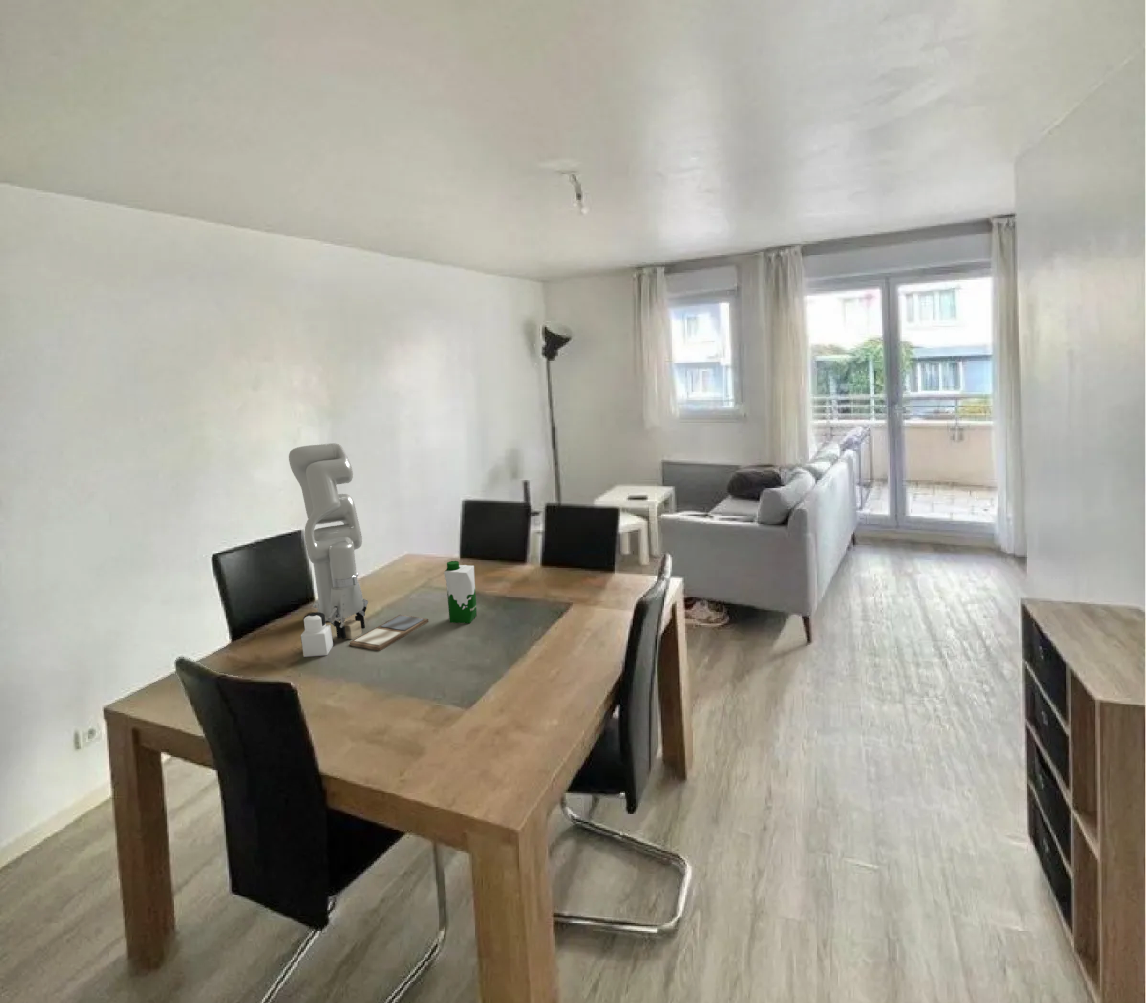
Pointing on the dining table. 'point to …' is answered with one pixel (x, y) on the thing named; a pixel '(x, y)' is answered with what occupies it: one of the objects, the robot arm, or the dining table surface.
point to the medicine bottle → (316, 635)
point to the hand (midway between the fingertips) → (351, 632)
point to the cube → (352, 628)
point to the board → (389, 632)
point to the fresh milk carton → (460, 592)
